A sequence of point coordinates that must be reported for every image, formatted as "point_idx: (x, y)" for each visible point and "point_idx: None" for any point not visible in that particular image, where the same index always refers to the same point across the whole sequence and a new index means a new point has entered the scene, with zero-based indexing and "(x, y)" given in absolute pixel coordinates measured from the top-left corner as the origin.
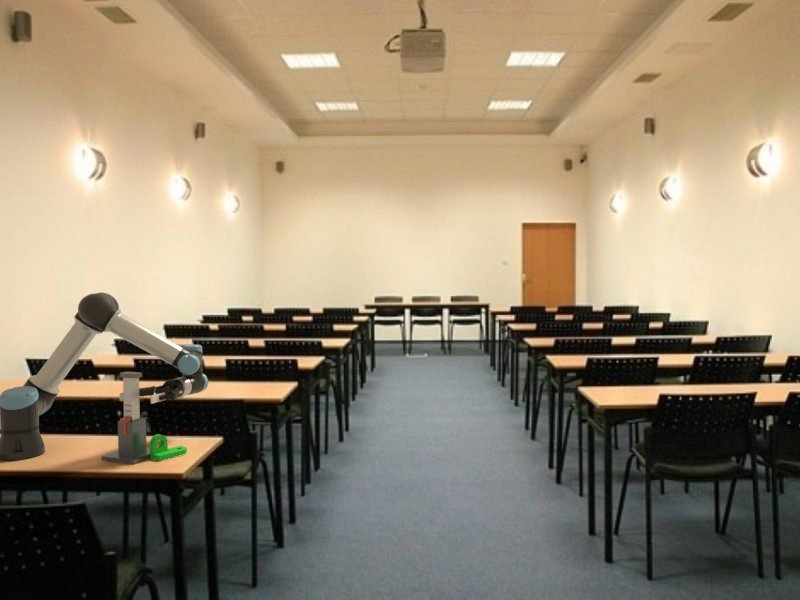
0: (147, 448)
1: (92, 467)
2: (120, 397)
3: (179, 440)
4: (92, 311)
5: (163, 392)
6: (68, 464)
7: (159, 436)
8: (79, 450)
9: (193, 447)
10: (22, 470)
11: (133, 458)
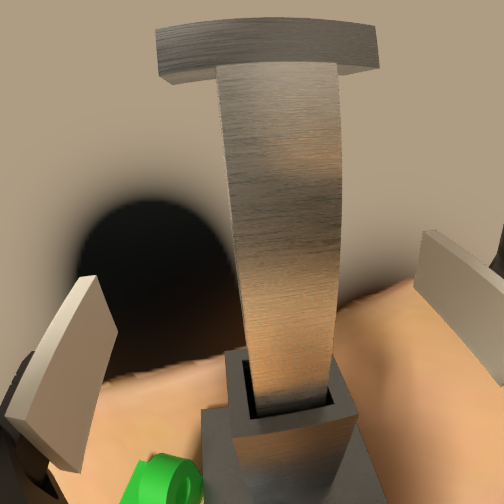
0: None
1: None
2: (422, 260)
3: None
4: None
5: (23, 419)
6: (372, 339)
7: (147, 470)
8: (494, 391)
9: None
10: (394, 286)
11: (214, 419)
